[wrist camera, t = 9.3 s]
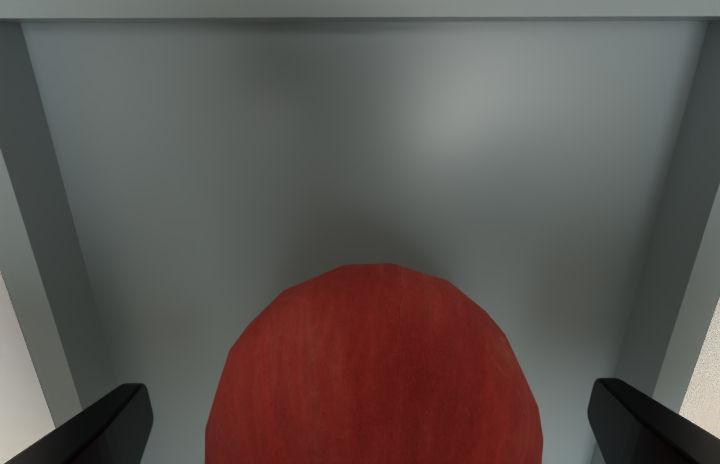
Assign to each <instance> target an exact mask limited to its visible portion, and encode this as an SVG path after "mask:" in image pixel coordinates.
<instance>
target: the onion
mask: <svg viewBox="0 0 720 464" xmlns="http://www.w3.org/2000/svg"><path fill="white" fill-rule="evenodd" d="M542 453H543V433H542V427H541V420H540V414H539V407H538V405H537V403H536V400H535V398H534V396H533V394H532V391H531V389H530V387H529V384H528V382H527V380H526V378H525V375H524V373H523V371H522V369H521V367H520V365H519V363H518V360H517V358H516V356H515V354H514V352H513V350H512V348H511V345H510V343H509V341H508V339H507V337H506V335H505V333H504V332H503V331H502V330H501V329H500V327H499V326H498V325H497V324H496V323H495V321H494V320H493V319H492V318H491V317H490V316H489V314H488V313H487V312H486V311H485V310H484V309H482V308H481V307H480V306H479V305H478V304H476V303H475V302H474V301H473V300H471V299H470V298H469V297H468V296H467V295H465V294H464V293H463V292H462V291H460V290H459V289H458V288H457V287H456V286H454V285H453V284H452V283H451V282H449V281H447V280H444V279H441V278H438V277H435V276H431V275H428V274H425V273H422V272H419V271H415V270H412V269H409V268H406V267H403V266H399V265H396V264H392V263H382V264H351V265H342V266H340V267H337V268H335V269H333V270H330V271H328V272H326V273H323V274H321V275H319V276H316V277H314V278H312V279H309V280H307V281H305V282H302V283H300V284H297V285H295V286H293V287H290V288H288V289H286V290H283V291H282V292H281V293H280V294H279V295H278V296H277V297H276V298H275V299H274V300H273V301H272V302H271V303H270V304H269V305H268V306H267V307H266V308H265V309H264V310H263V311H262V312H261V313H260V314H259V315H258V316H257V317H256V318H255V319H254V320H253V321H252V322H251V323H250V324H249V325H248V326H247V327H246V329H245V330H244V331H243V333H242V334H241V335H240V337H239V338H238V339H237V341H236V342H235V343H234V344H233V346H232V347H231V348H230V350H229V353H228V356H227V359H226V362H225V365H224V368H223V371H222V375H221V378H220V381H219V384H218V387H217V390H216V393H215V397H214V400H213V404H212V407H211V411H210V414H209V418H208V421H207V425H206V428H205V464H542Z"/></svg>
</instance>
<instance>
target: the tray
mask: <svg viewBox="0 0 720 464" xmlns="http://www.w3.org/2000/svg"><path fill="white" fill-rule="evenodd" d="M382 263H392V264H396V265H399V266H403V267H406V268H409V269H412V270H415V271H419V272H422V273H425V274H428V275H431V276H435V277H438V278H441V279H444V280H447V281H449V282H451V283H452V284H453V285H454V286H456V287H457V288H458V289H459V290H460V291H462V292H463V293H464V294H465V295H467V296H468V297H469V298H470V299H471V300H473V301H474V302H475V303H476V304H478V305H479V306H480V307H481V308H482V309H484V310H485V311H486V312H487V313H488V314H489V316H490V317H491V318H492V319H493V320H494V321H495V323H496V324H497V325H498V326H499V327H500V329H501V330H502V331H503V332H504V333H505V335H506V337H507V339H508V341H509V343H510V345H511V348H512V350H513V352H514V354H515V356H516V358H517V360H518V363H519V365H520V367H521V369H522V371H523V373H524V375H525V378H526V380H527V382H528V384H529V387H530V389H531V391H532V394H533V396H534V398H535V400H536V403H537V405H538V407H539V414H540V420H541V427H542V433H543V453H542V464H605V462H604V459H603V457H602V454H601V451H600V449H599V446H598V444H597V441H596V439H595V436H594V434H593V431H592V429H591V426H590V424H589V421H588V416H587V408H588V404H589V400H590V396H591V392H592V388H593V384H594V381H595V380H596V379H598V378H619V379H621V380H623V381H624V382H626V383H628V384H629V385H631V386H633V387H634V388H636V389H638V390H639V391H641V392H643V393H644V394H646V395H648V396H649V397H651V398H652V399H654V400H656V401H657V402H659V403H661V404H662V405H664V406H666V407H667V408H669V409H671V410H672V411H674V412H676V413H677V414H679V411H680V408H681V405H682V402H683V399H684V397H685V394H686V391H687V388H688V385H689V382H690V379H691V377H692V374H693V371H694V368H695V365H696V362H697V359H698V357H699V354H700V351H701V348H702V345H703V342H704V340H705V337H706V334H707V331H708V328H709V325H710V322H711V320H712V317H713V314H714V311H715V308H716V305H717V302H718V300H719V297H720V0H0V270H1V273H2V276H3V279H4V282H5V285H6V288H7V290H8V293H9V296H10V299H11V302H12V305H13V308H14V310H15V313H16V316H17V319H18V322H19V325H20V328H21V330H22V333H23V336H24V339H25V342H26V345H27V348H28V351H29V353H30V356H31V359H32V362H33V365H34V368H35V371H36V373H37V376H38V379H39V382H40V385H41V388H42V391H43V393H44V396H45V399H46V402H47V405H48V408H49V411H50V413H51V416H52V419H53V422H54V425H55V428H57V427H59V426H60V425H62V424H63V423H65V422H66V421H68V420H69V419H71V418H72V417H74V416H75V415H77V414H78V413H80V412H81V411H83V410H84V409H86V408H87V407H89V406H90V405H92V404H93V403H94V402H96V401H97V400H99V399H100V398H102V397H103V396H105V395H106V394H108V393H109V392H111V391H112V390H114V389H115V388H117V387H118V386H120V385H121V384H124V383H143V384H145V385H146V387H147V389H148V393H149V397H150V401H151V406H152V410H153V415H154V420H153V426H152V430H151V433H150V436H149V439H148V442H147V445H146V448H145V451H144V454H143V457H142V460H141V463H140V464H205V428H206V425H207V421H208V418H209V414H210V411H211V407H212V404H213V400H214V397H215V393H216V390H217V387H218V384H219V381H220V378H221V375H222V371H223V368H224V365H225V362H226V359H227V356H228V353H229V350H230V348H231V347H232V346H233V344H234V343H235V342H236V341H237V339H238V338H239V337H240V335H241V334H242V333H243V331H244V330H245V329H246V327H247V326H248V325H249V324H250V323H251V322H252V321H253V320H254V319H255V318H256V317H257V316H258V315H259V314H260V313H261V312H262V311H263V310H264V309H265V308H266V307H267V306H268V305H269V304H270V303H271V302H272V301H273V300H274V299H275V298H276V297H277V296H278V295H279V294H280V293H281V292H282V291H283V290H286V289H288V288H290V287H293V286H295V285H297V284H300V283H302V282H305V281H307V280H309V279H312V278H314V277H316V276H319V275H321V274H323V273H326V272H328V271H330V270H333V269H335V268H337V267H340V266H342V265H351V264H382Z"/></svg>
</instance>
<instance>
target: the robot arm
mask: <svg viewBox="0 0 720 464" xmlns="http://www.w3.org/2000/svg"><path fill="white" fill-rule="evenodd" d="M587 416H588V421H589V424H590V426H591V429H592V431H593V434H594V436H595V439H596V441H597V444H598V446H599V449H600V451H601V454H602V457H603V459H604V462H605V464H720V439H719V438H717V437H715V436H714V435H712V434H710V433H709V432H707V431H705V430H704V429H702V428H700V427H699V426H697V425H695V424H694V423H692V422H691V421H689V420H687V419H686V418H684V417H682V416H681V415H679V414H677V413H676V412H674V411H672V410H671V409H669V408H667V407H666V406H664V405H662V404H661V403H659V402H657V401H656V400H654V399H652V398H651V397H649V396H648V395H646V394H644V393H643V392H641V391H639V390H638V389H636V388H634V387H633V386H631V385H629V384H628V383H626V382H624V381H623V380H621V379H619V378H598V379H596V380H595V381H594V384H593V388H592V392H591V396H590V400H589V404H588V408H587ZM153 420H154V415H153V410H152V406H151V401H150V397H149V393H148V389H147V387H146V385H145V384H143V383H124V384H121V385H120V386H118V387H117V388H115V389H114V390H112V391H111V392H109V393H108V394H106V395H105V396H103V397H102V398H100V399H99V400H97V401H96V402H94V403H93V404H92V405H90V406H89V407H87V408H86V409H84V410H83V411H81V412H80V413H78V414H77V415H75V416H74V417H72V418H71V419H69V420H68V421H66V422H65V423H63V424H62V425H60V426H59V427H57V428H56V429H55V430H53V431H52V432H50V433H49V434H47V435H46V436H44V437H43V438H41V439H40V440H38V441H37V442H35V443H34V444H32V445H31V446H29V447H28V448H26V449H25V450H23V451H22V452H21V453H19V454H18V455H16V456H15V457H13V458H12V459H10V460H9V461H7V462H6V463H4V464H140V463H141V460H142V457H143V454H144V451H145V448H146V445H147V442H148V439H149V436H150V433H151V430H152V426H153Z"/></svg>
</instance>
